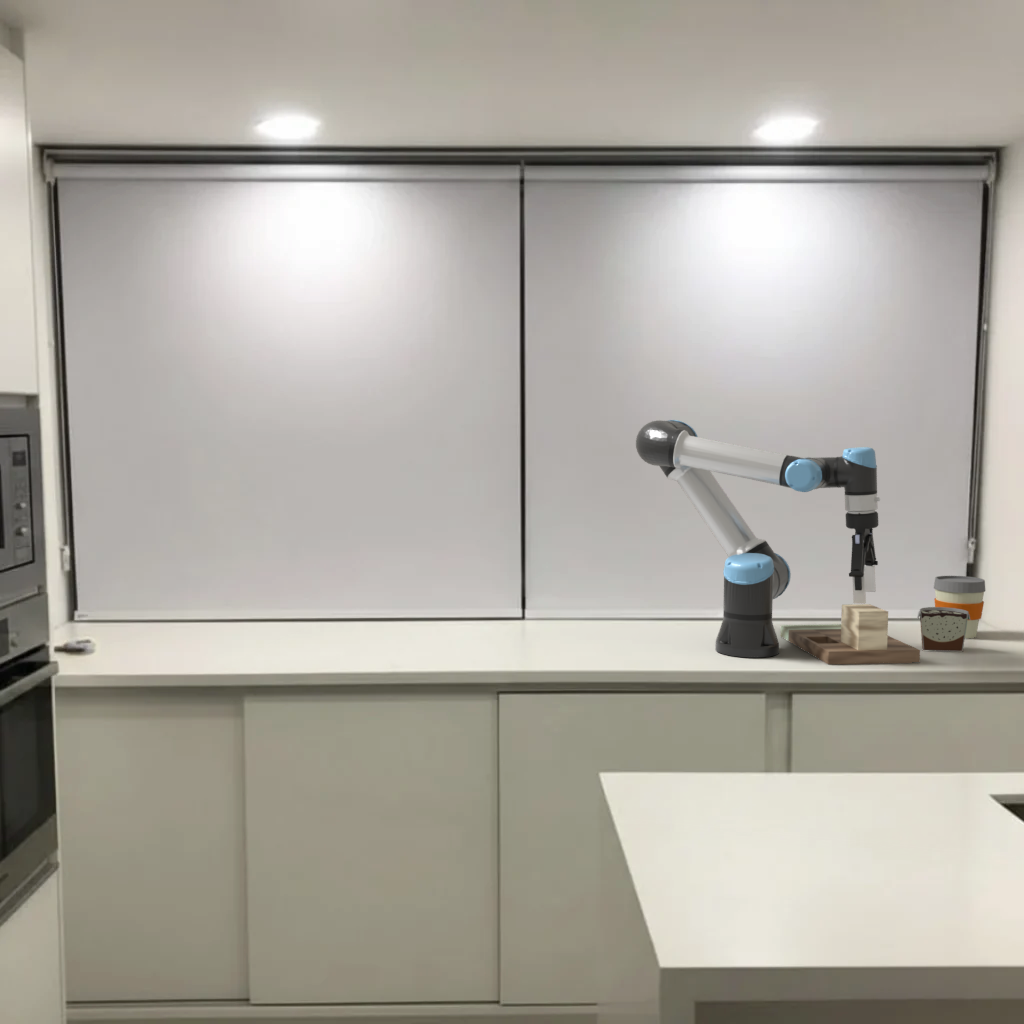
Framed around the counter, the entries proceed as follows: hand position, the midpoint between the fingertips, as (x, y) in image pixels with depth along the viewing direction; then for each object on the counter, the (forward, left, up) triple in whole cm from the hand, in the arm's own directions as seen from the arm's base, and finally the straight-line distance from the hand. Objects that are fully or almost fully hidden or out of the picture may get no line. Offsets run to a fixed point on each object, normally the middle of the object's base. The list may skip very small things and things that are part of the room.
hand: (864, 597), depth 257 cm
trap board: (-4, 0, -13) cm, 14 cm away
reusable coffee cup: (+25, +26, -13) cm, 39 cm away
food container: (+18, +7, -13) cm, 24 cm away
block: (-1, -9, -10) cm, 14 cm away
